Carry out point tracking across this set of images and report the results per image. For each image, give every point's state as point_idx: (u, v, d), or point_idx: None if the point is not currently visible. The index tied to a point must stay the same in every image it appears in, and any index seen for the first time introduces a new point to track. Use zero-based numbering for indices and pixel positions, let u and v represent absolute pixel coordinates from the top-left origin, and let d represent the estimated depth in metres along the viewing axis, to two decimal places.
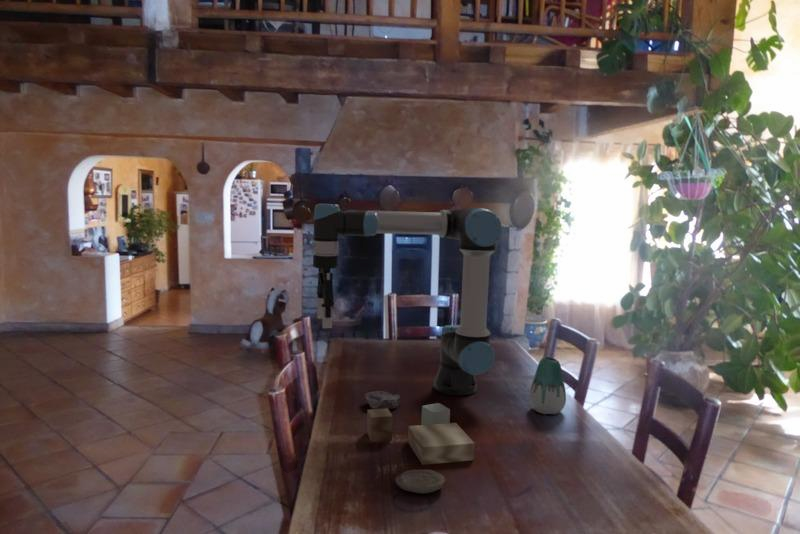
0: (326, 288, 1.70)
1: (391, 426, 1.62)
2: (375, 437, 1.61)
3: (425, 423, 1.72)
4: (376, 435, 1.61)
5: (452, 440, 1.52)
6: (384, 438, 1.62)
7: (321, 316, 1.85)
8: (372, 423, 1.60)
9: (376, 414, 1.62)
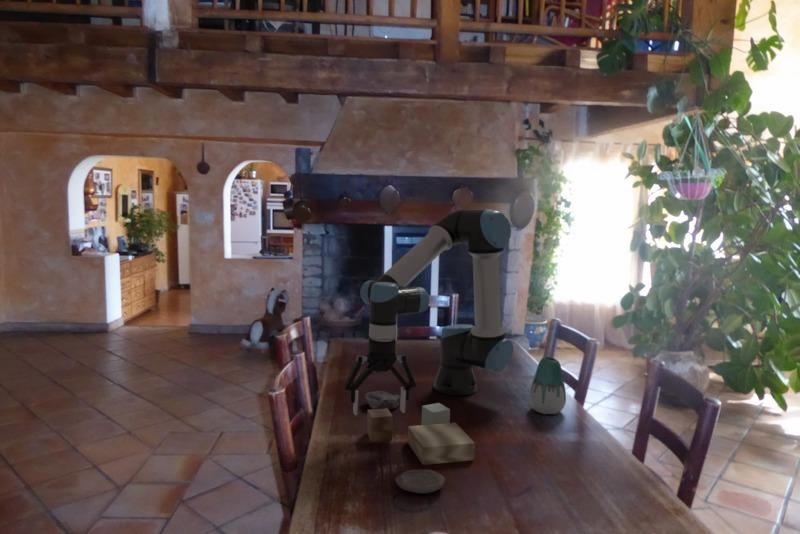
0: (352, 370, 1.60)
1: (391, 426, 1.62)
2: (375, 437, 1.61)
3: (425, 423, 1.72)
4: (376, 435, 1.61)
5: (452, 440, 1.52)
6: (384, 438, 1.62)
7: (401, 408, 1.65)
8: (372, 423, 1.60)
9: (376, 414, 1.62)
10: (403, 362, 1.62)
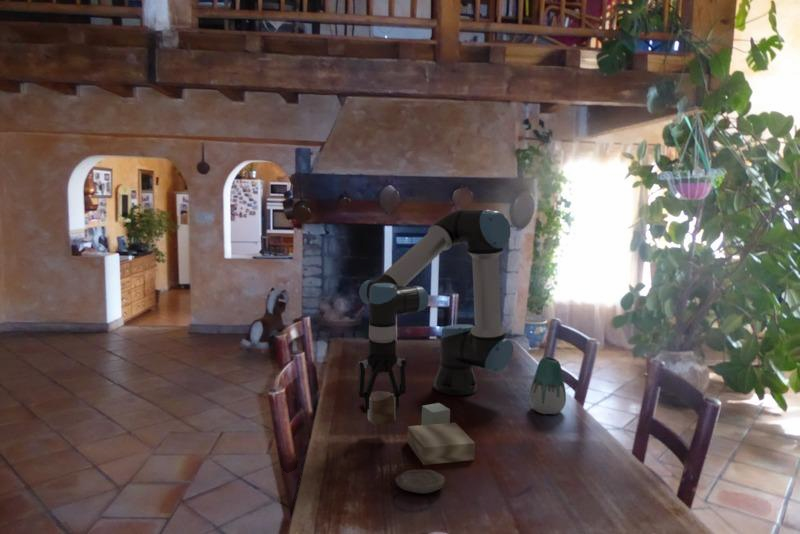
0: (359, 377, 1.61)
1: (393, 409, 1.61)
2: (377, 421, 1.61)
3: (425, 423, 1.72)
4: (378, 419, 1.61)
5: (452, 440, 1.52)
6: (386, 421, 1.61)
7: None
8: (374, 406, 1.60)
9: (377, 397, 1.62)
10: (402, 366, 1.62)
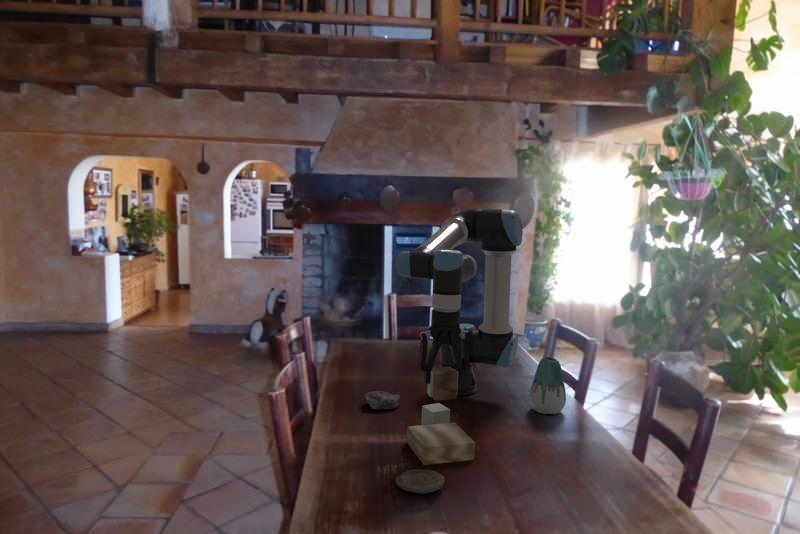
0: (420, 349, 1.52)
1: (456, 384, 1.52)
2: (439, 396, 1.51)
3: (425, 423, 1.72)
4: (440, 393, 1.51)
5: (452, 440, 1.52)
6: (448, 397, 1.52)
7: None
8: (436, 380, 1.50)
9: (439, 371, 1.53)
10: (465, 338, 1.53)
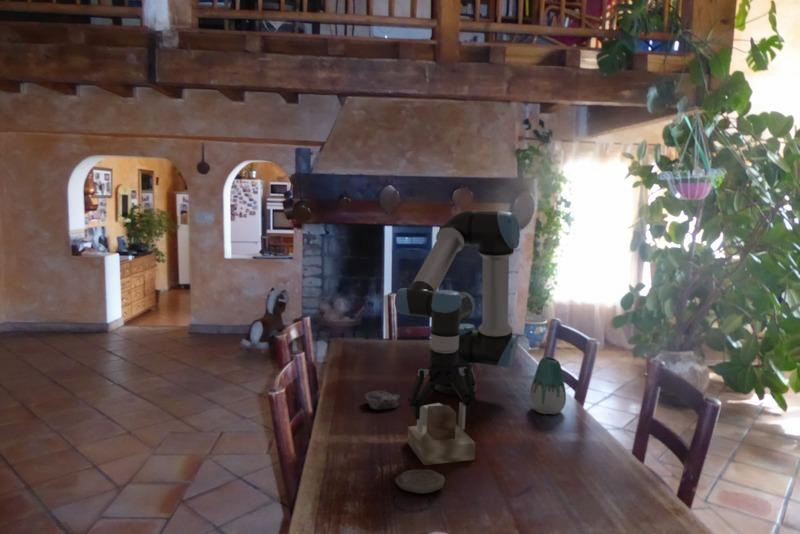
0: (414, 385, 1.53)
1: (455, 423, 1.53)
2: (438, 435, 1.52)
3: (425, 423, 1.72)
4: (439, 433, 1.52)
5: (453, 440, 1.52)
6: (447, 436, 1.53)
7: (460, 424, 1.57)
8: (435, 420, 1.52)
9: (438, 410, 1.54)
10: (465, 375, 1.54)
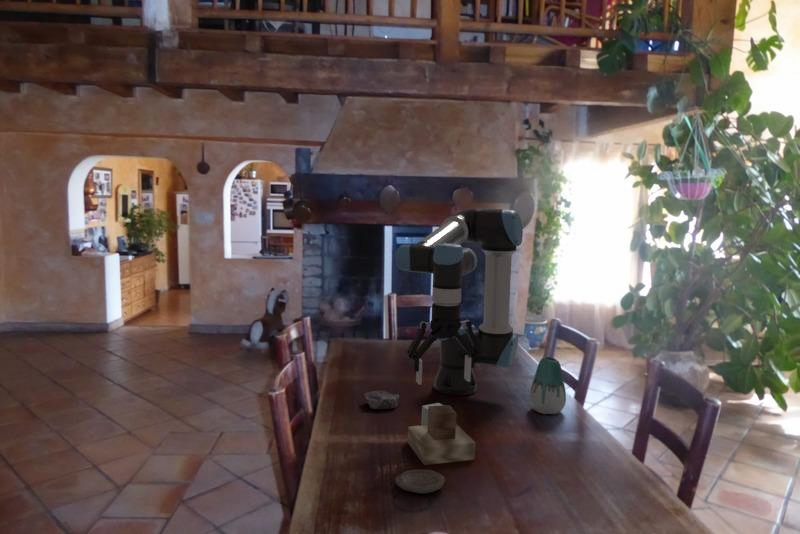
0: (414, 337, 1.51)
1: (455, 423, 1.53)
2: (438, 435, 1.52)
3: (425, 423, 1.72)
4: (439, 433, 1.52)
5: (453, 440, 1.52)
6: (447, 436, 1.53)
7: (465, 376, 1.56)
8: (435, 420, 1.52)
9: (438, 410, 1.54)
10: (468, 328, 1.53)
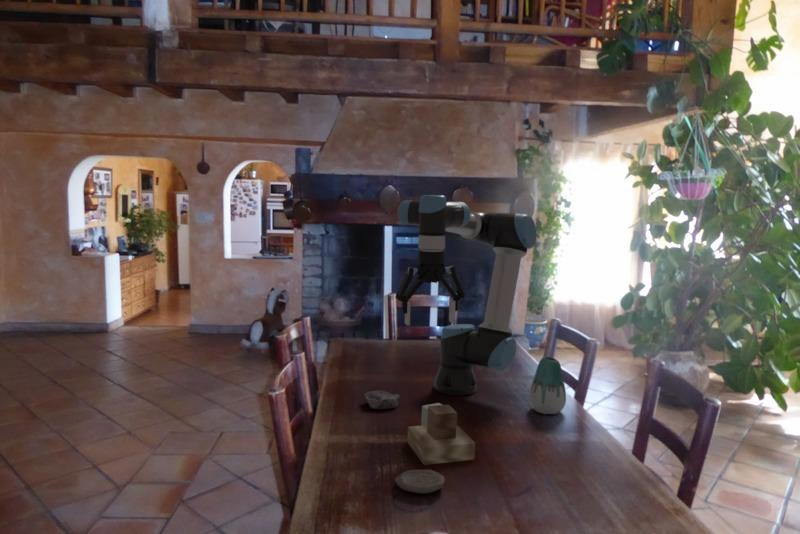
0: (403, 282, 1.64)
1: (455, 423, 1.54)
2: (439, 435, 1.53)
3: (425, 423, 1.72)
4: (440, 433, 1.53)
5: (452, 440, 1.52)
6: (448, 436, 1.53)
7: (450, 319, 1.69)
8: (436, 420, 1.52)
9: (438, 410, 1.54)
10: (452, 273, 1.66)
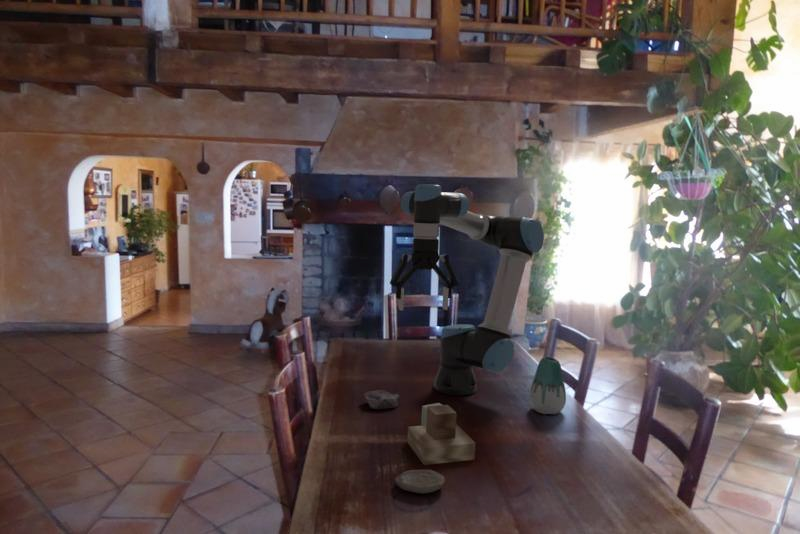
0: (397, 268, 1.69)
1: (455, 423, 1.53)
2: (439, 435, 1.52)
3: (425, 423, 1.72)
4: (439, 433, 1.52)
5: (452, 440, 1.52)
6: (447, 436, 1.53)
7: (443, 306, 1.73)
8: (435, 420, 1.52)
9: (438, 410, 1.54)
10: (446, 261, 1.70)
